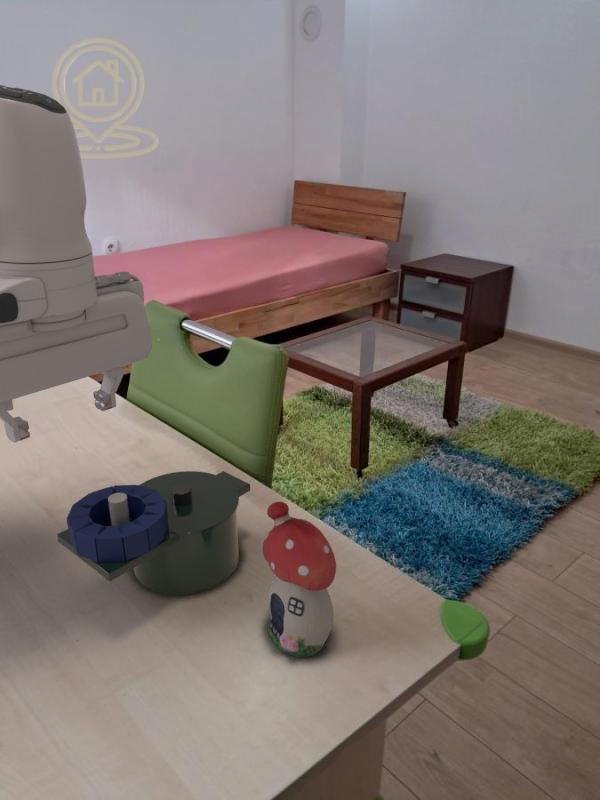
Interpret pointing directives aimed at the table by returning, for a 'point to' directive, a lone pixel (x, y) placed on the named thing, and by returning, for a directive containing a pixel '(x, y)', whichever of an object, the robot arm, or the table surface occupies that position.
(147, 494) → the tape roll
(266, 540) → the decorative ornament
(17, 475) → the table surface
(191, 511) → the pot
